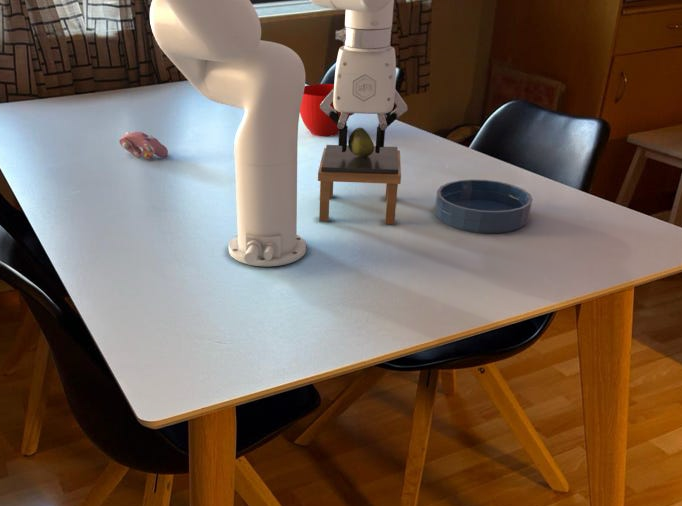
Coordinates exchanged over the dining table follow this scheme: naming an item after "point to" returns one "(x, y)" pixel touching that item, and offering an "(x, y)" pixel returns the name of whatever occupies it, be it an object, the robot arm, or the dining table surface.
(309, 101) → the ceramic cup
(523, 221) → the bowl
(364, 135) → the lime
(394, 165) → the stool
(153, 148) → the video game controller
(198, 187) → the dining table surface
